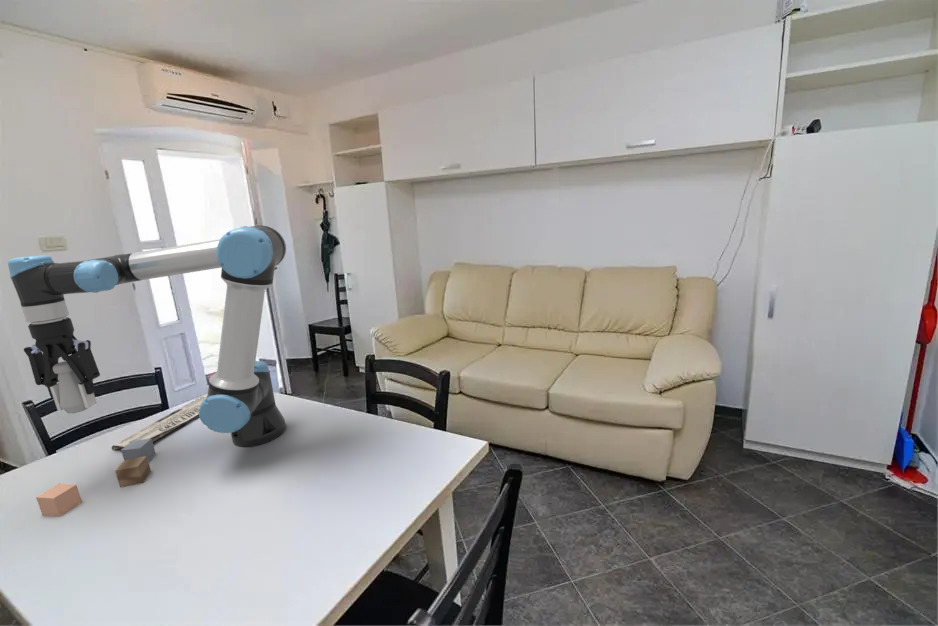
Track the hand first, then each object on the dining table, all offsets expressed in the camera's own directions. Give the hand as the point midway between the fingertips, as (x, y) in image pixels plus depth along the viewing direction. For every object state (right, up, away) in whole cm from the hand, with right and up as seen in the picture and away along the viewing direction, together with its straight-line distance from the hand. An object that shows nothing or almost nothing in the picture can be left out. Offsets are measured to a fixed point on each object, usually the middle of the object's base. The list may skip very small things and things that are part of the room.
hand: (77, 406), depth 106 cm
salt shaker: (0, -1, 0) cm, 1 cm away
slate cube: (+6, -18, +13) cm, 23 cm away
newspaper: (+2, -14, +33) cm, 36 cm away
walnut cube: (+12, -20, +3) cm, 24 cm away
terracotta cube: (+2, -23, -6) cm, 24 cm away
